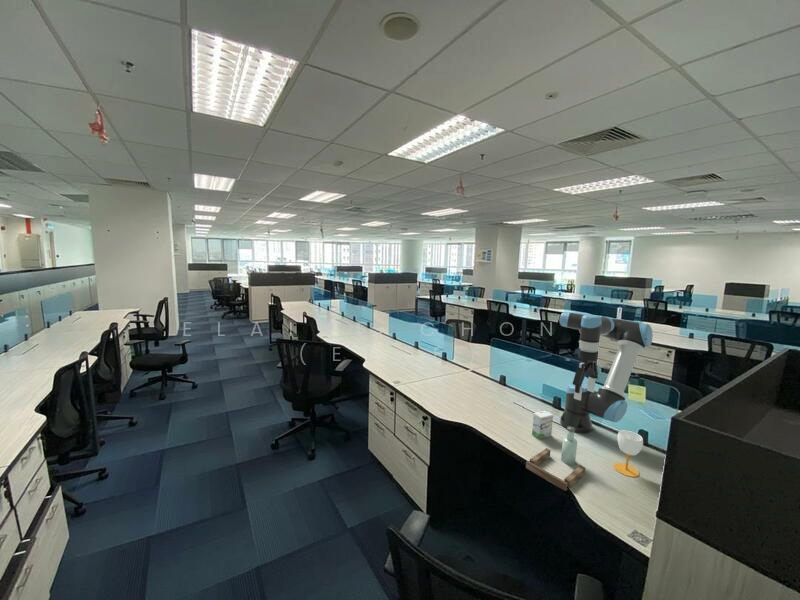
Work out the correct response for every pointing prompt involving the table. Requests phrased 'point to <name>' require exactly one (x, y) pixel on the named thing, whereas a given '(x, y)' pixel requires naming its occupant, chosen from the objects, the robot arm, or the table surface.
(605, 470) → the table surface
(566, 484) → the u rest
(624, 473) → the cup
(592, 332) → the robot arm
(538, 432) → the ink box
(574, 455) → the bottle
